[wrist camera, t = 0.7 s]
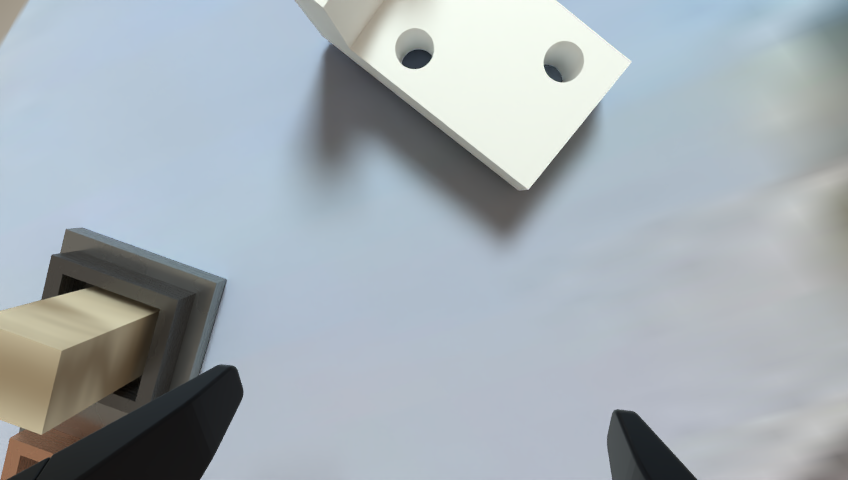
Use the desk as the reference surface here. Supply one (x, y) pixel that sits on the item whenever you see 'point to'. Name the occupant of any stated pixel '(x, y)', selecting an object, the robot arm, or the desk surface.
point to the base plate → (171, 344)
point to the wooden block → (69, 354)
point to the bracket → (482, 70)
